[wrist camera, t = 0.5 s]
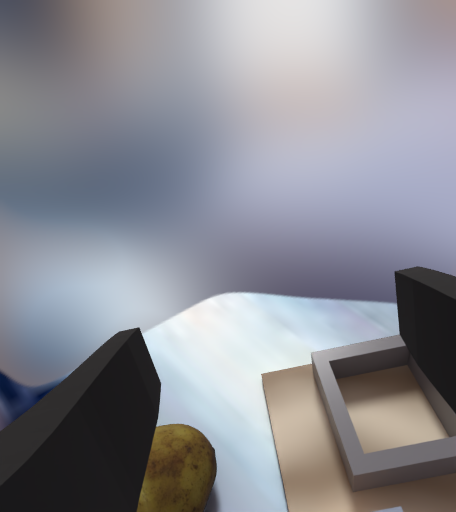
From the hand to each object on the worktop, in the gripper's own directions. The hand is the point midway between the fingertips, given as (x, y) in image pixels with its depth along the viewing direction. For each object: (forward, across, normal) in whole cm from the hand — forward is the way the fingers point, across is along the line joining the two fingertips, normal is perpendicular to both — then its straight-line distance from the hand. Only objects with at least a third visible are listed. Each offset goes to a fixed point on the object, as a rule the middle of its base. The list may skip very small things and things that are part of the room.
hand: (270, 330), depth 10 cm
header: (+11, -6, +16) cm, 21 cm away
